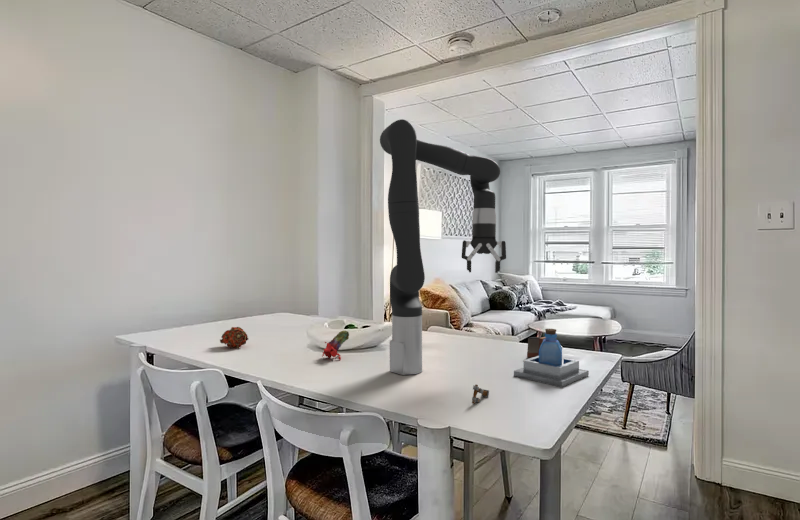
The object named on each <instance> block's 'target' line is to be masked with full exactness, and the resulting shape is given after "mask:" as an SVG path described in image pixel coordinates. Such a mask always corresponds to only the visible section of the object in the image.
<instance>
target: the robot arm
mask: <svg viewBox="0 0 800 520" xmlns="http://www.w3.org/2000/svg"><path fill="white" fill-rule="evenodd" d="M416 131H417V130H416V129H415V127H414V125H413V124H412V123H411V122H410V121H409V120H407V119H403V118H402V119H400V118H399V119H397V120H395V121H393V122H392V123H391V124H389V125H388V126H387V127H386V128H385V129H384V130H383V131H382V132H381V134H380V136H379V144H380V147H381V148H382V150H383V151H384V152H385V153H387V154H388V155H391V163H392V166H391V169H392V170H391V176H390V182H389V187H388V193H387V210H388V220H389V225H390V226H389V227H390V229H391V233H392V235H393V239H394V242H395V249H396V264H395V266H394V267H393V268H392V269H391V271H390V275H389V301H390V302H389V303H390V306H391V308H390V309H391V339H390V340H389V372H391V373H395V374H397V375H398V374H399V375H401V376H406V375H415V374H416V375H417V374H421V372H423V307H422V305H421V301H420V291H421V289H422V288H423V286H424V284H425V278H426V276H425V268H424V264H423V258H422V252H421V250H422V249H421V231H420V228H421V225H420V207H419V194H418V193H419V192H418V179H417V169H416V168H417V166H416V165H417V161H418V162H423V163H425V164H428V165H429V164H430V165H432V166H436V167H438V168H441V169H443V170H447V171H448V172H452V173H454V174H456V175H460V176H469V178H470V185H471V190H472V193H473V194H472V195H473V212H472V220H471V222H472V229H471V230H472V231H471V233H472V234H471V235H472V236H471V237H472V238H471V241H469V240H463V241H462V247H461V259H463V260H466V271H468V272H469V273H472V259H473V257H475V255H476V254H479V255H483V254H485V255H490V254H491V256H492V257H493V258H494V259H495V262H494V268H495V269H494V273H495V274H498V273H499V272H500V270H501V261H503V260H506V259H507V250H506V249H507V247H506V246H507V245H506V241H505V240H501V241H497V239H496V238H497V235H496V233H497V231H496V230H497V213H496V193H495V192H494V191H493V190H491V189H490V183H493V182H495V181H496V180H498V178H499V177H500V175H501V167H500V165H499V164H498V163H497V162H496V161H494V160H493V159H491V158H488V157H483V156H479V155H478V156H477V155H474V154H473V155H472V154H468V153H467V152H464V151H462V150H460V149H457V148H454V147H451V146H447V145H442V144H436V143H431V142H425V141H423V140H419V139H418V138H417V132H416ZM469 246H471V247H472V248H473V250H472V251H471V253H470V254H468V256H467V255H466V254H467V248H469ZM497 246H498V247H499V248H500V249H501V250H500V251H501V253H500V254H501V255H500V256H499V255H498V253H497V252H496V250H495V248H496V247H497Z"/></svg>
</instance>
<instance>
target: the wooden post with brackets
mask: <svg viewBox="0 0 800 520" xmlns="http://www.w3.org/2000/svg"><path fill="white" fill-rule="evenodd" d="M472 390H473V393H472V394H473V395H472V397H471V404H475V405H476V403H480V402H481V398H479V397H477V394H481V395H480V396H481V397H483V396H484V398H485V397H486V398H489V396H490V390H489V389H484V388H481V387H479V386H478V384H475V385H473V386H472Z"/></svg>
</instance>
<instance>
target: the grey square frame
mask: <svg viewBox="0 0 800 520" xmlns="http://www.w3.org/2000/svg"><path fill="white" fill-rule="evenodd" d="M588 375H589V370H586V369H583V368H580V360H576V359H571V358H566V357H565V358H563V361H562V365H560V366H554V365H549V364H544V363H539V356H536V357H533V358H527V359H525V360H523V367H521V368H517V369H516V370H513V376H514V377H516V378H520V379H521V378H522V379H525V380H529V381H534V382H538V383H543V384H546V385H547V384H548V385H550V386H555V387H559V388H564V387H566V386H569V385H570V384H573V383H575V382H578V381H580V380H582V379H584V378H587V377H589V376H588ZM586 376H587V377H586ZM583 377H584V378H583ZM581 378H582V379H581ZM579 379H580V380H579ZM577 380H578V381H577ZM574 381H575V382H574Z"/></svg>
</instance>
